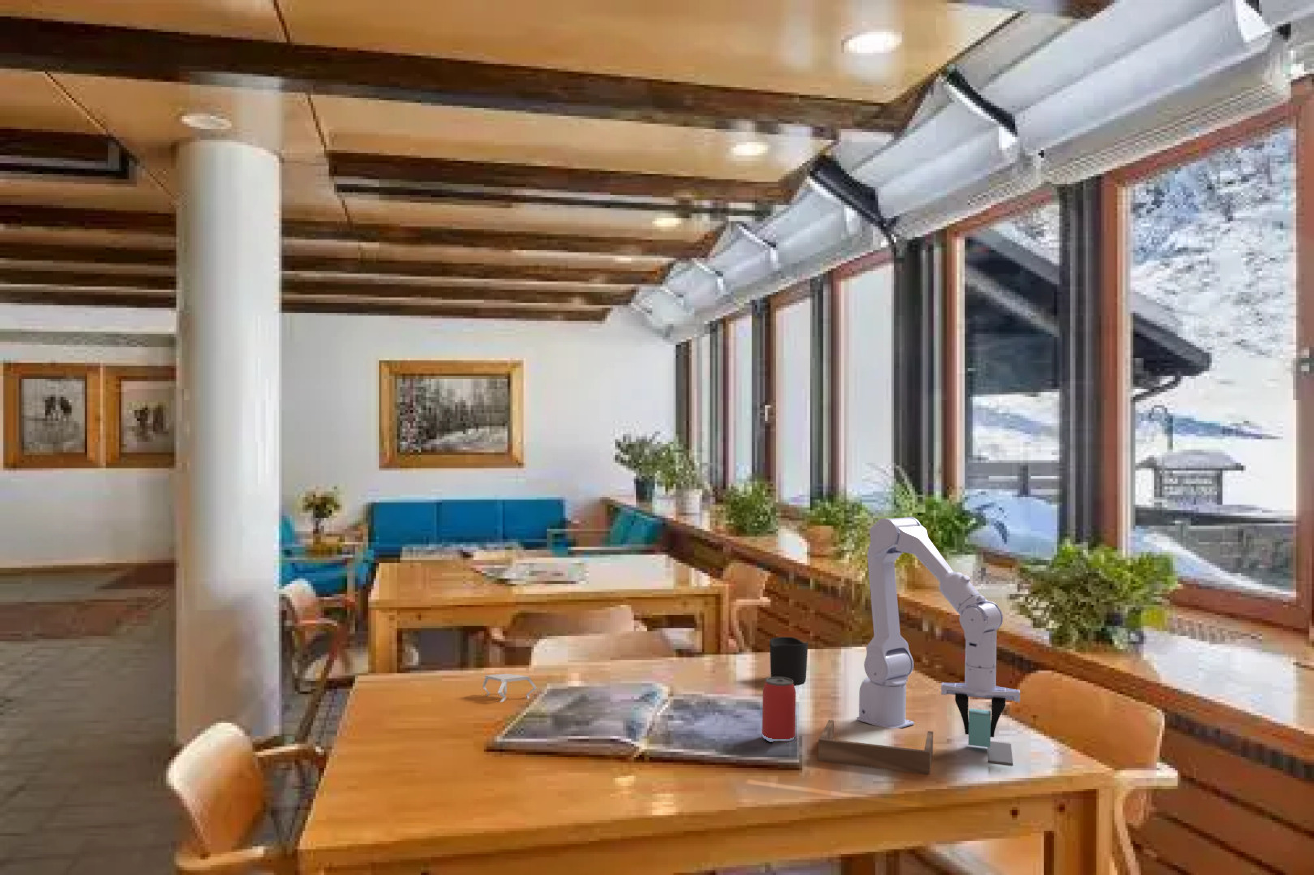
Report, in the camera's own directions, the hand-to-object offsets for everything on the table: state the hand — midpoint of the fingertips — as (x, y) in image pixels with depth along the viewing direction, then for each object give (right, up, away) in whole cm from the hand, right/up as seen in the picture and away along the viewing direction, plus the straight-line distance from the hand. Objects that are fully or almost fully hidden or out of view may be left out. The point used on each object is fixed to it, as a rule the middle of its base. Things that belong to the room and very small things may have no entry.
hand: (979, 734), depth 186 cm
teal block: (0, -2, -1) cm, 2 cm away
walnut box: (-21, -3, -5) cm, 22 cm away
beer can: (-39, -3, +5) cm, 39 cm away
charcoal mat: (0, -3, 0) cm, 3 cm away
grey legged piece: (-97, -2, +33) cm, 102 cm away
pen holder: (-30, -3, +51) cm, 60 cm away
